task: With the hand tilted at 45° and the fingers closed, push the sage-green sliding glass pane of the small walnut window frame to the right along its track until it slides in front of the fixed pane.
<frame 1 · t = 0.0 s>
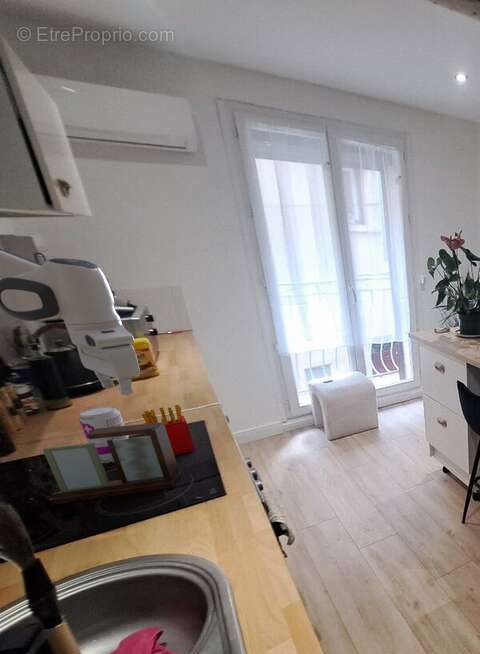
hand: (118, 391, 98), 27 cm above the counter, tool pointing down, fingers open, 8 cm apart
supplement can: (115, 458, 121), on the counter
french fries container: (174, 453, 125), on the counter
sliding pane: (77, 467, 100), point 8 cm above the counter, slide at 0.0 cm
window frame: (120, 489, 106), on the counter
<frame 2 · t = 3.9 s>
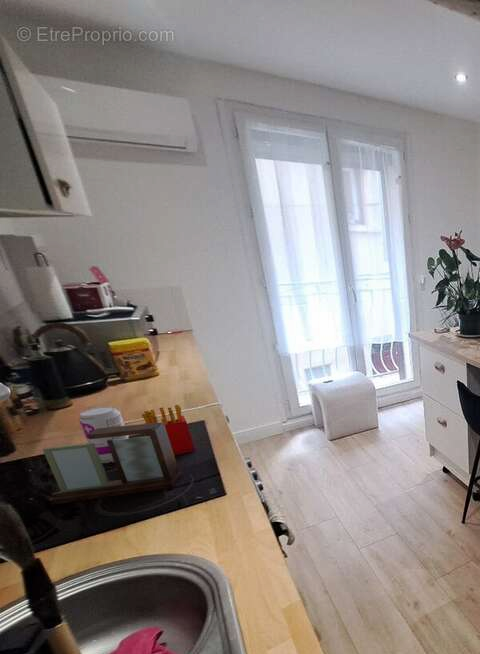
nothing on the counter moved.
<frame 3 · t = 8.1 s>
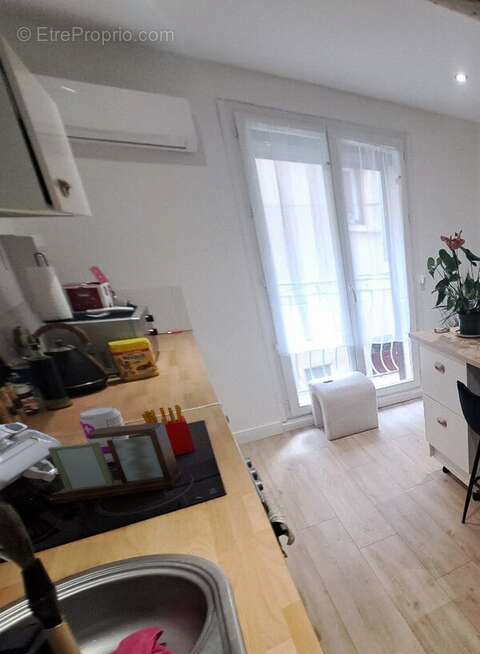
hand: (56, 476, 99), 6 cm above the counter, tool tilted 45°, fingers closed, pressing on sliding pane
sliding pane: (82, 467, 101), point 8 cm above the counter, slide at 1.0 cm, touching gripper
everything else where it was.
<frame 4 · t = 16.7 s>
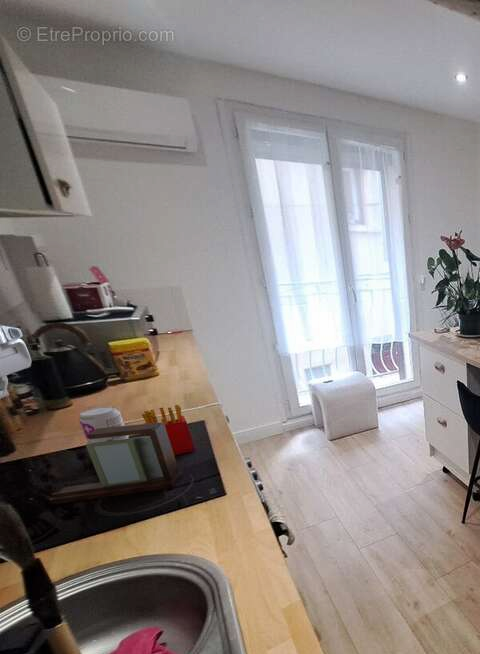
sliding pane: (118, 463, 103), point 8 cm above the counter, slide at 7.8 cm
everything else where it was.
at the end: sliding pane slide at 7.8 cm; supplement can moved 0.2 cm from its start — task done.
